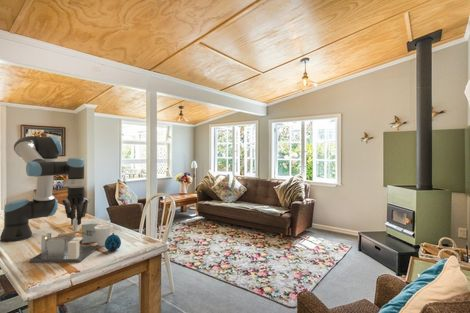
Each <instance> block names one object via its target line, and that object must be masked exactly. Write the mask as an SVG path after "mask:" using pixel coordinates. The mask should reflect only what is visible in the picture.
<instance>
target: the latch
mask: <svg viewBox="0 0 470 313" xmlns="http://www.w3.org/2000/svg"><path fill="white" fill-rule="evenodd" d="M82 239H83V237H82V236H75V238H73V239H72V240H71V241H70V242H68V259H77V258H78V257H79V246H80V242H81V241H82Z"/></svg>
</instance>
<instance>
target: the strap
mask: <svg viewBox="0 0 470 313" xmlns="http://www.w3.org/2000/svg"><path fill="white" fill-rule="evenodd" d="M79 233H82V229H80V230H79V231H77V232H73V231H72V232H68V233H63V234H64V235H60V236H58V235H57V236H53V237H51V238H49V239H58V238H61V237H65V236H68V235H72V234H75V235H76V234H79ZM49 239H47V241H48V240H49Z"/></svg>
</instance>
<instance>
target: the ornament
mask: <svg viewBox="0 0 470 313" xmlns="http://www.w3.org/2000/svg"><path fill="white" fill-rule="evenodd" d="M121 244H122V239H121V238H120V236H118V234H115V233H114V232H113V233H112V232H111V235H110V236H109V237H108V238H107V239H106V241H105V246H104V247H105V249H106V251H111V252H113V251H117V250H118V249H120V247H121Z"/></svg>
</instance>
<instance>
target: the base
mask: <svg viewBox="0 0 470 313" xmlns="http://www.w3.org/2000/svg"><path fill="white" fill-rule="evenodd" d="M64 234H65V233H59V234H57V236H60V235H64ZM75 237H76V234H72V235H68V236H65V237H61V238H57V239H49V238H52V232H50V233H49V232H47V233H46V235H41V237H40V238H41V240H40V241H41V242H40V244H41V246H40V248H41V250H40V253H38V254H37V255H35V256H33V257H32V258H30V259H29V263H82V261H84V260H85V259H86V258H88V257H89V256H90V255H91V254H93V253H94V251H96V250H97V249H98V245H79V257H78V258H77V259H68V242H70V241H71V240H72V239H73V238H75ZM47 239H49V240H48V241H47Z"/></svg>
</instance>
